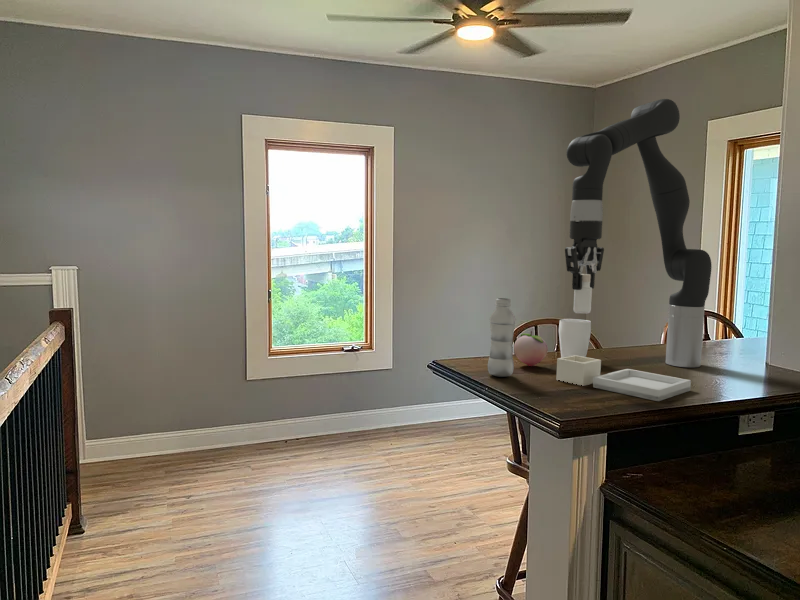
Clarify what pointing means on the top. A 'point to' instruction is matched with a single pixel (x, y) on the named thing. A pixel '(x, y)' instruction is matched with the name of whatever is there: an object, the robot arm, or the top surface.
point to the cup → (574, 337)
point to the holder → (578, 369)
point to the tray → (642, 384)
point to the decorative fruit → (530, 349)
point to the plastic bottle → (501, 339)
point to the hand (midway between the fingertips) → (583, 288)
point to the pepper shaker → (583, 296)
